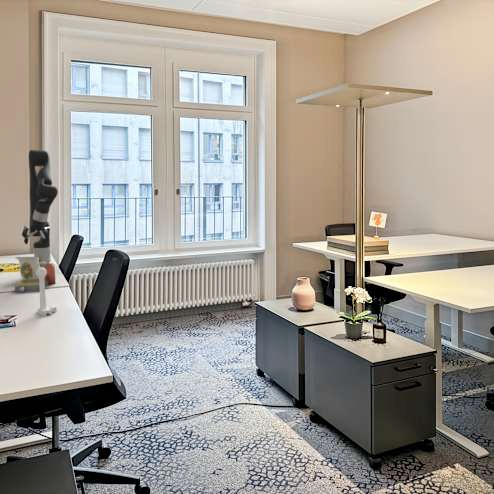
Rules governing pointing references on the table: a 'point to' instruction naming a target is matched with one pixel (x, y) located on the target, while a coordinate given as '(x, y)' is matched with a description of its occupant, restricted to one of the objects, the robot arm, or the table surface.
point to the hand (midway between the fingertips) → (33, 243)
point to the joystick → (43, 294)
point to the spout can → (50, 272)
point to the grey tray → (29, 285)
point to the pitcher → (29, 267)
